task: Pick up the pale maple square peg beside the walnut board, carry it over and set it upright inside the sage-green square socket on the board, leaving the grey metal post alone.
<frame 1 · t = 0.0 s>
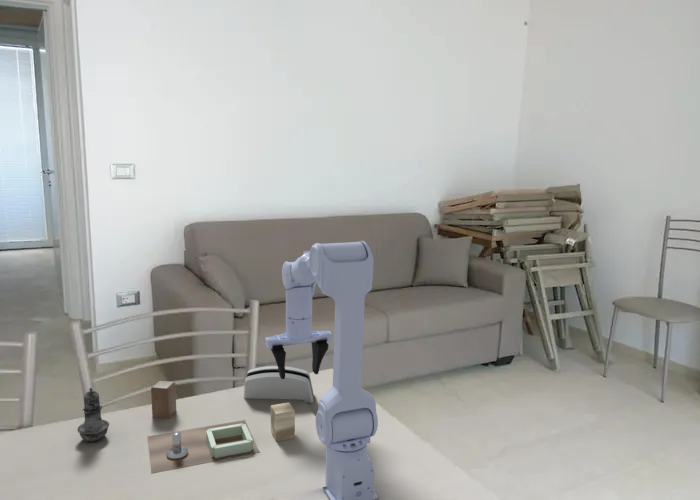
hand: (298, 374, 124), 10 cm above the table, tool pointing down, fingers open, 7 cm apart
maple peg: (282, 439, 116), on the table
walnut board: (202, 448, 112), on the table
white rounded block: (278, 401, 134), on the table
wooden block: (164, 418, 124), on the table
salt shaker: (94, 443, 113), on the table
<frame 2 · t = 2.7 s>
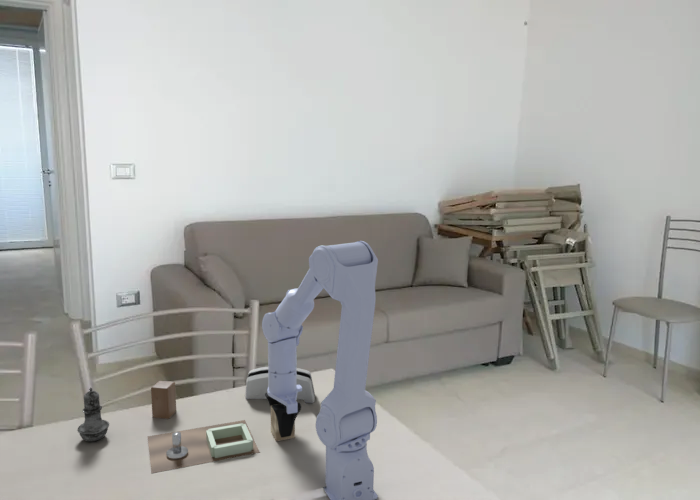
hand: (282, 430, 116), 2 cm above the table, tool pointing down, fingers closed on maple peg, 4 cm apart
maple peg: (282, 439, 116), on the table, touching gripper
everything else where it was.
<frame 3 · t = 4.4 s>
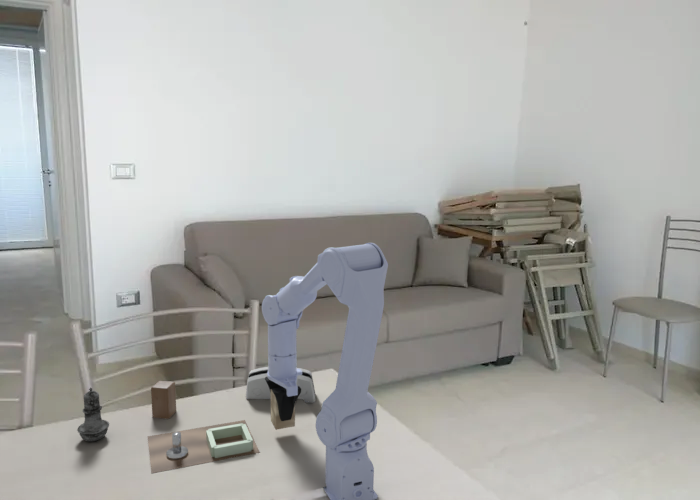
hand: (282, 414, 115), 5 cm above the table, tool pointing down, fingers closed on maple peg, 4 cm apart
maple peg: (282, 423, 115), point 4 cm above the table, touching gripper
everything else where it was.
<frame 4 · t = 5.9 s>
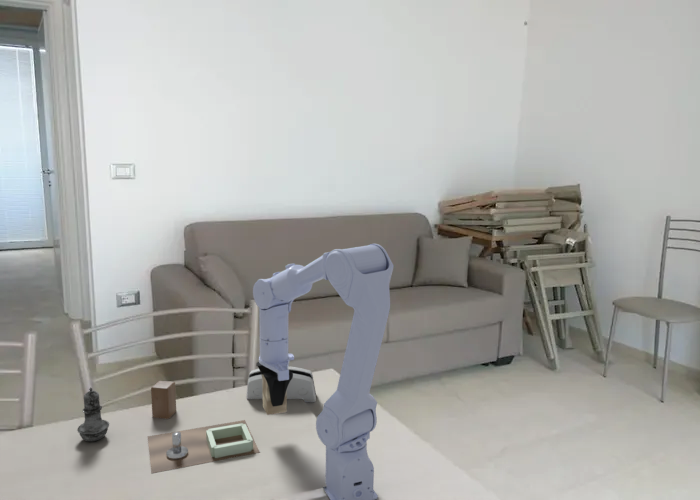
hand: (274, 400, 114), 9 cm above the table, tool pointing down, fingers closed on maple peg, 4 cm apart
maple peg: (274, 409, 114), point 7 cm above the table, touching gripper
everything else where it was.
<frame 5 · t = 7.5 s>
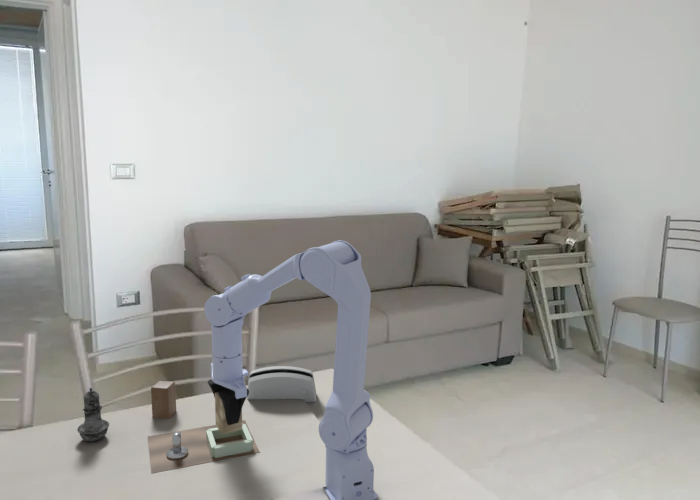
hand: (228, 418, 111), 7 cm above the table, tool pointing down, fingers closed on maple peg, 4 cm apart
maple peg: (228, 427, 111), point 5 cm above the table, touching gripper
everything else where it was.
when the fingers open (4 cm above the table, at t = 9.1 s): maple peg drops 1 cm, resting on walnut board.
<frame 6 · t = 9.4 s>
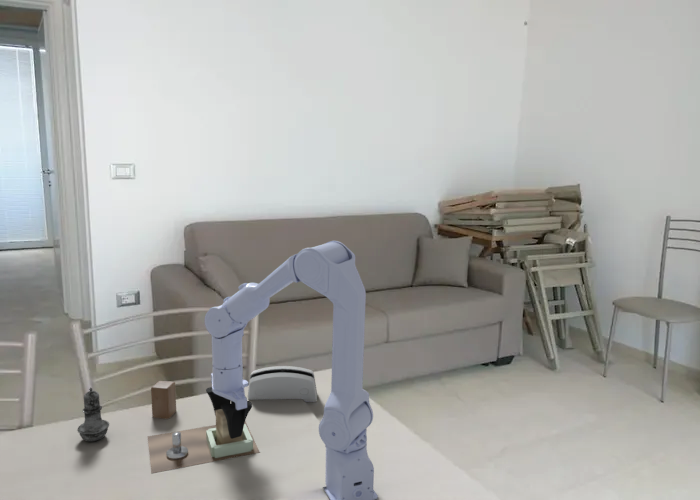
hand: (229, 428, 111), 4 cm above the table, tool pointing down, fingers open, 7 cm apart
maple peg: (229, 444, 112), point 1 cm above the table, touching walnut board
everything else where it was.
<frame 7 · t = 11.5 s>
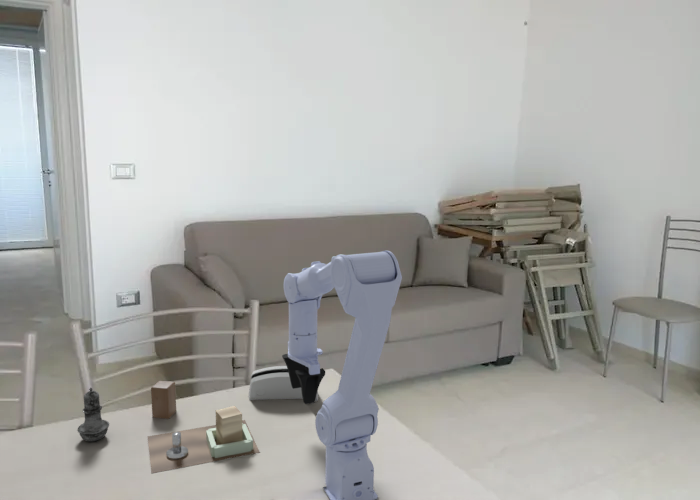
hand: (302, 394, 114), 10 cm above the table, tool pointing down, fingers open, 7 cm apart
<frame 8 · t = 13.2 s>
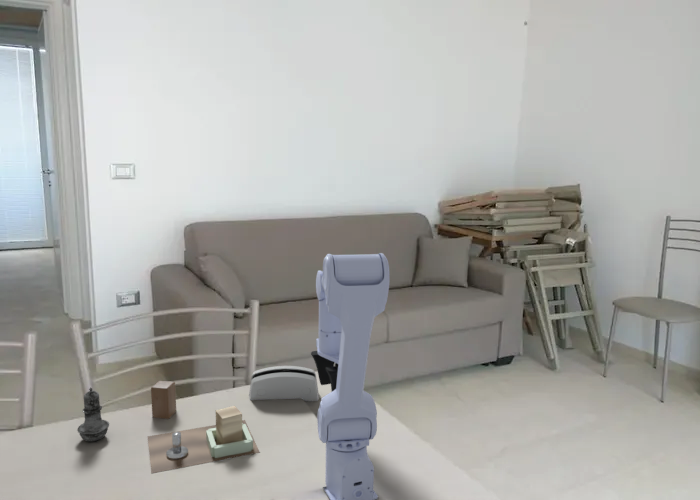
hand: (331, 391, 116), 10 cm above the table, tool pointing down, fingers open, 7 cm apart
at the end: maple peg 0.0 cm off-centre on the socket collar, point 0.0 cm above the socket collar's base; maple peg tilted 0°; the gripper is holding nothing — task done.
